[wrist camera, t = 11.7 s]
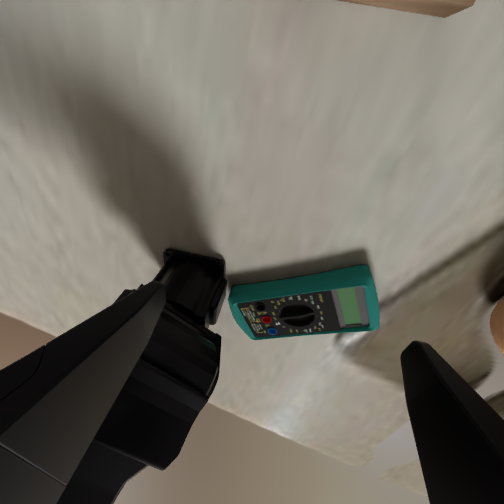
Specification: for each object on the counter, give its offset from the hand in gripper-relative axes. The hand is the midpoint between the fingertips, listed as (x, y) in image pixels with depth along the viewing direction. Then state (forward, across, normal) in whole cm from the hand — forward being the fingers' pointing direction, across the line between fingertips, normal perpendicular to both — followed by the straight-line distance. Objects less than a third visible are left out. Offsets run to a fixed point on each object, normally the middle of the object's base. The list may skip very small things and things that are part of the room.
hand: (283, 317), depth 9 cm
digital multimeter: (+14, -4, +12) cm, 19 cm away
